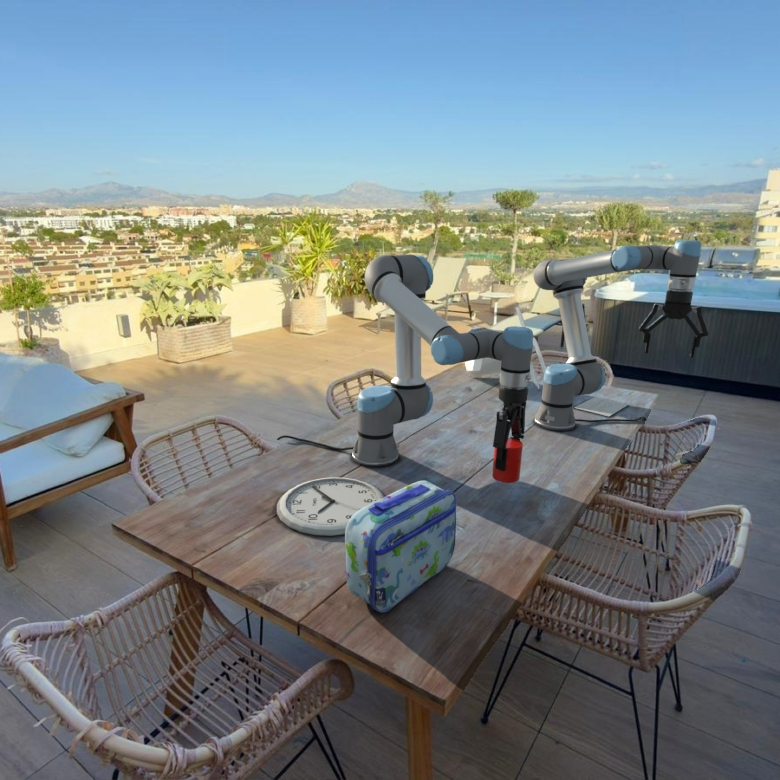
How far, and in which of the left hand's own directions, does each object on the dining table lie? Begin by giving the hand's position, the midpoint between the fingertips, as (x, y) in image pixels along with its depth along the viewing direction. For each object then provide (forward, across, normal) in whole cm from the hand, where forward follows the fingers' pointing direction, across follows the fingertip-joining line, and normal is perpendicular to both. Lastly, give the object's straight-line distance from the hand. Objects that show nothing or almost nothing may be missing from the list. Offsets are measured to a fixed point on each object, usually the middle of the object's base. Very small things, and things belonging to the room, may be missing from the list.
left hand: (506, 464), depth 145 cm
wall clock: (+10, -34, +35) cm, 49 cm away
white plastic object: (+10, +106, +51) cm, 118 cm away
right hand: (-23, +66, -25) cm, 75 cm away
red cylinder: (+4, 0, 0) cm, 4 cm away
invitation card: (+10, +100, +2) cm, 101 cm away
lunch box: (+11, -48, +1) cm, 49 cm away
